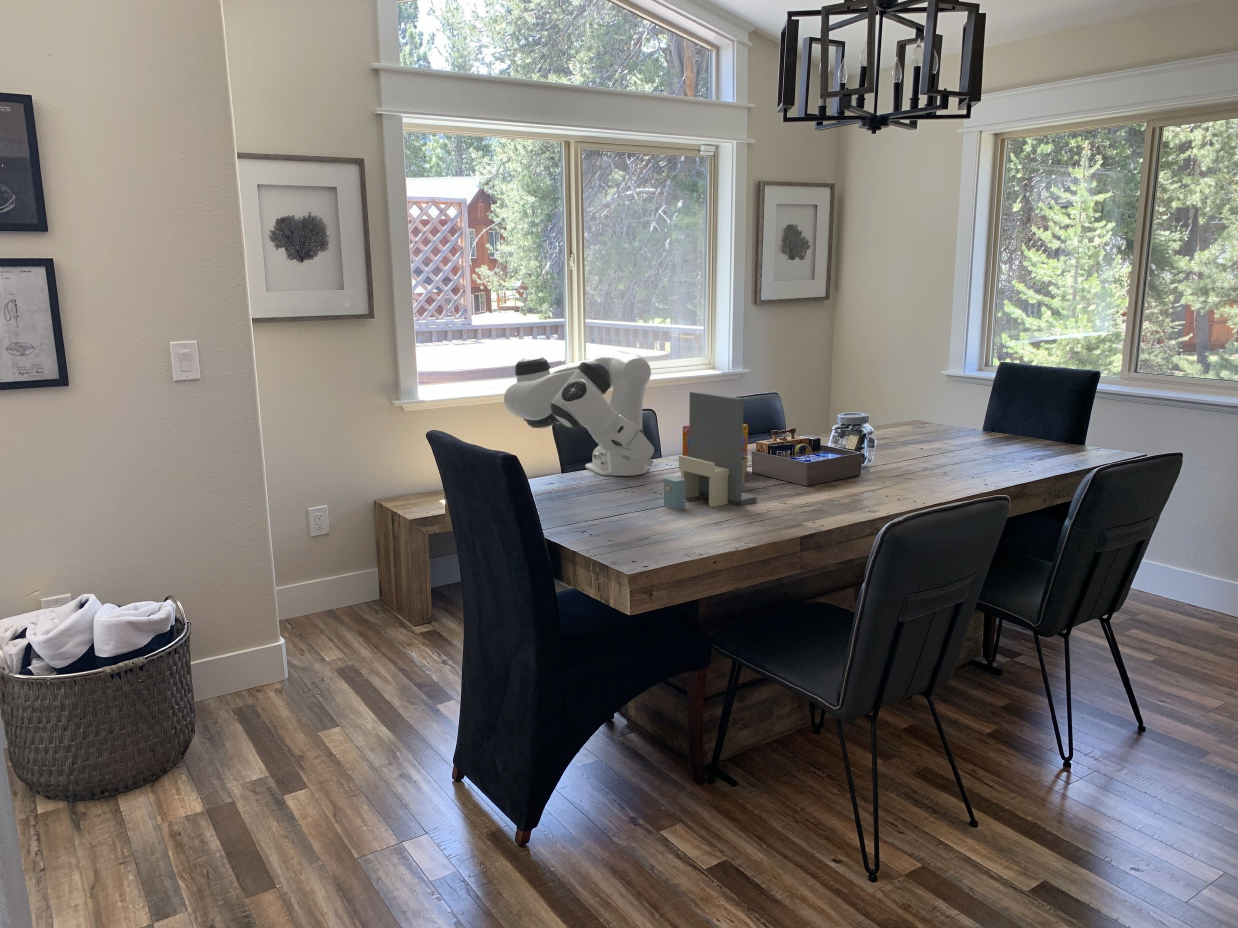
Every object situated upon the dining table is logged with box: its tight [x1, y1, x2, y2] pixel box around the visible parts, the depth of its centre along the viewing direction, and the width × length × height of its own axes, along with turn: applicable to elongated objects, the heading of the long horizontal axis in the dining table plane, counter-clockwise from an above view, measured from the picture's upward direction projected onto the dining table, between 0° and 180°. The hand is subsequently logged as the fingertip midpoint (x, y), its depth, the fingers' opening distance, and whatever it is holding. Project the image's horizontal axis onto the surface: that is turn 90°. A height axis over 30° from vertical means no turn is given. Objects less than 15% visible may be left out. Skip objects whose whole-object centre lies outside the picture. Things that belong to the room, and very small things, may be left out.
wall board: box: [678, 391, 758, 508], centre depth 258 cm, size 20×14×30 cm
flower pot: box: [742, 456, 750, 487], centre depth 276 cm, size 9×9×9 cm
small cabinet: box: [663, 476, 686, 511], centre depth 251 cm, size 5×4×8 cm
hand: (639, 461), depth 242 cm, fingers open, 8 cm apart
